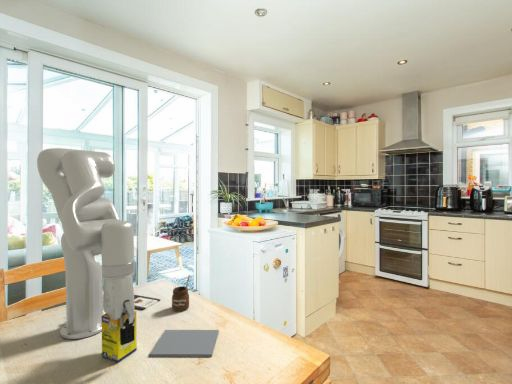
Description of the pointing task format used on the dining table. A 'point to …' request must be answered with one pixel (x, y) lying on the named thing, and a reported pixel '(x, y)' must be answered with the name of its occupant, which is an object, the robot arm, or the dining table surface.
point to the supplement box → (115, 339)
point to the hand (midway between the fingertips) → (120, 335)
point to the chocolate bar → (144, 302)
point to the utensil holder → (180, 298)
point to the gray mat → (186, 343)
